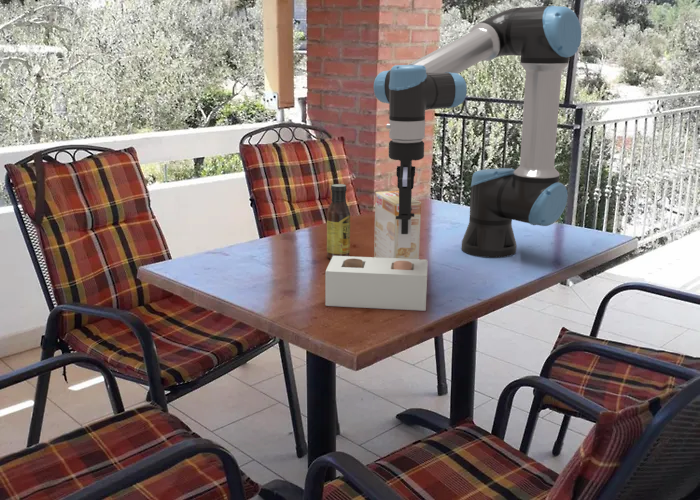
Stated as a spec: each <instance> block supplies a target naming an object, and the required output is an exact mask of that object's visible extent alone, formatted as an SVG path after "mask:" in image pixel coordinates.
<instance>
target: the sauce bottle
mask: <svg viewBox="0 0 700 500" xmlns="http://www.w3.org/2000/svg"><path fill="white" fill-rule="evenodd" d="M347 189H348V188H347V185H346V184H343V183H336V184H335V183H334V184H331V186H330V190H331V202H330V204H329V206H328V208H327V211H326V215H327V216H326V218H327V219H326V254H327V255H326V257H327V258H328V259H330V260H331V259H332V257H333V256H350V253H351V249H350V248H351V213H350V209H349V206H348V204H347V198H346V197H347V195H346V194H347Z"/></svg>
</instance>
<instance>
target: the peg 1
mask: <svg viewBox="0 0 700 500" xmlns="http://www.w3.org/2000/svg"><path fill="white" fill-rule="evenodd" d="M362 266H363V261H362V260H360V259H347V260H345V267H351V268H362Z"/></svg>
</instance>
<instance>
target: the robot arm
mask: <svg viewBox="0 0 700 500" xmlns="http://www.w3.org/2000/svg"><path fill="white" fill-rule="evenodd" d="M581 41H582V28H581V22H580V20H579V17H577V13H576V12H575V11H574V10H572V9H571V8H569V7H568V6H567V7H566V6H560V5H559V6H558V5H548V6H546V5H545V6H531V7H530V6H529V7H521V6H519V7H514V8H510V9H507V10H503V11H501V12H498V13H497V14H494V15H492V16H490V17H488V18H486V19H484V20H482V21H481V22H478V23H476V24H474V26H472V27H471V29H470V31H469V32H468V33H466V34H464V35H462V36H460V37H459V38H457V39H454V40H453V41H451V42H449V43H447V44H445V45H443V46H441V47H440V48H438V49H435V50H433V51H432V52H430V53H428V54H426V55H424V56H422V57H420V58H418V59H416V60H415V61H413V62H411V63H409V64H395V65H393V66H392V67H391V68H390V69H389V70H383V71H380V72H379V73H378V74H377V75H376V77H375V79H374V82H373V94H374V96H375V98H376V99H377V100H378V101H379V102H381V103H383V104H389V105H388V107H389V108H388V110H389V111H388V113H389V117H388V119H389V123H387V124H385V127H386V129H389V131H388V132H389V133H388V137H389V139H390V140H389V142H388V157H389V159H391V160H393V161H399V162H400V164H399V165H397V166H396V171H395V172H396V177H397V182H396V183H397V185H396V187H397V188H398V191H399V215H398V216H396V219H399V235H398V248H411V217H414V213H411V210H412V208H411V197H412V193H413V192H412V190H413V189H414V185H415V176H416V165H415V166H414V165H412V164H413V161H420V160H422V159H424V157H425V142H424V141H423V139H424V138H425V137H426V135H425V134H426V133H425V132H426V111H427V110H437V109H440V110H441V109H451V108H455V107H458V106H460V105H462V103H464V101H465V99H466V97H467V89H468V87H467V86H468V85H467V82H466V79H465V78H464V77H463V76H462V75H461V74H460V73H462V72H464V71H466V70H467V69H469V68H471V67H473V66H475V65H476V64H478V63H480V62H482V61H487V62H489V61H492V60H494V59H496V58H498V57H504V56H520V64H519V65H521V67H522V68H523V69H524V70H525V81H524V82H525V83H524V94H523V96H524V98H523V113H522V126H521V144H520V155H519V156H520V158H519V159H520V160H519V166H518V167H517V168H516V169H515V168H511V167H509V168H508V167H501V168H500V167H499V168H497V167H496V168H486V169H479V170H476V171H475V172H474V173H473V174H472V176H471V185H470V197H469V198H470V199H469V200H470V201H469V202H470V203H469V221H468V225H467V227H466V230H465V232H464V234H463V238H462V240H461V251H462V252H463V253H466V254H467V255H471V256H475V257H482V258H490V259H491V258H496V259H497V258H506V257H510V256H513V255H515V254H516V253H517V241H516V238H515V234H514V229H513V221H518V222H521V223H526V224H530V225H532V226H541V227H548V226H549V227H550V226H551V225H553V224H555V223H556V222H557V221H558V220H559V219H560V218H561V216H562V215H563V213H564V212H565V209H566V205H567V203H568V199H569V198H568V196H569V195H568V194H569V193H568V189H567V187H566V185H565V184H563V183H562V182H560V172H559V171H558V170H557V168H555V162H556V161H555V159H556V149H557V134H558V122H559V110H560V99H561V97H560V96H561V82H562V72H563V70H564V69H565V68H566V67H567V66H569V64H570V57H573V56H574V55H576V53H577V52H578V50H579V47H580V45H581ZM412 198H413V197H412Z"/></svg>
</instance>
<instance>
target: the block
mask: <svg viewBox="0 0 700 500" xmlns="http://www.w3.org/2000/svg"><path fill="white" fill-rule="evenodd" d="M347 259H360V260H362V261H363V266H362V268H351V267H345V260H347ZM396 261H409V262H411V263H412V270H397V269H394V262H396ZM428 261H429V259H425V258H424V259H420V258H419V259H401V258H377V257H374V256H372V257H371V256H354V255H353V256H350V255H349V256H333V257H332V259H330V261H329V263H328V265H327V267H326V270H325V276H324V277H325V283H324V284H325V290H324V291H325V298H324V299H325V300H324V301H325V302H324V303H325V306H326V307H342V308H343V307H344V308H360V309H361V308H363V309H366V308H367V309H383V310H384V309H385V310H402V311H403V310H404V311H405V310H406V311H424V312H425V311H427V288H428V287H427V284H428Z"/></svg>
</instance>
